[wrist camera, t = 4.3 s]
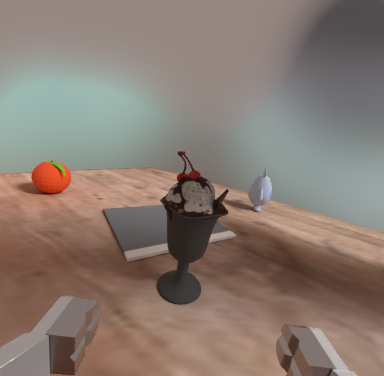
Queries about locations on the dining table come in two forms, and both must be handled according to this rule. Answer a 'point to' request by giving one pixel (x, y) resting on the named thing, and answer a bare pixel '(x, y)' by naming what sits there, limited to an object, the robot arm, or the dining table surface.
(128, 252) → the mat
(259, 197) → the toy figure
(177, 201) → the sundae
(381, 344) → the dining table surface
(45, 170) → the clementine
